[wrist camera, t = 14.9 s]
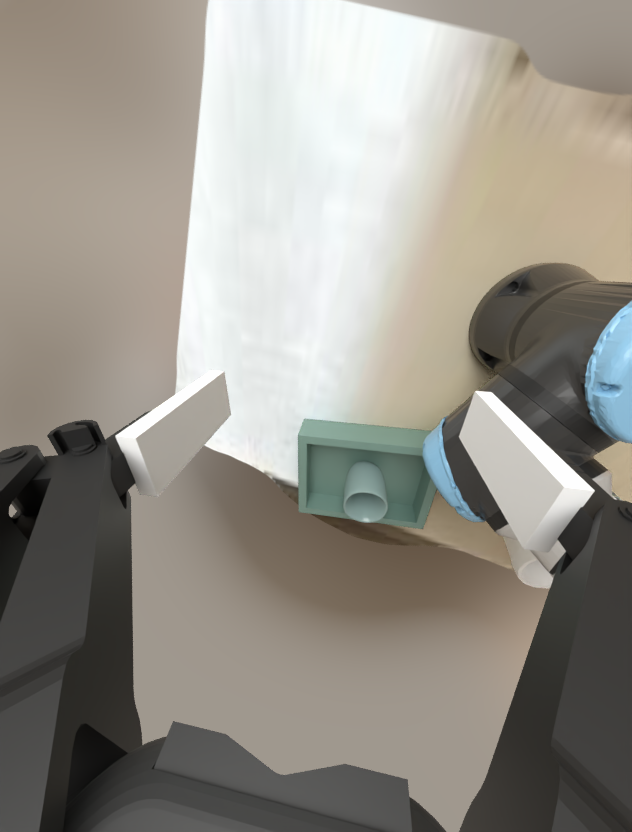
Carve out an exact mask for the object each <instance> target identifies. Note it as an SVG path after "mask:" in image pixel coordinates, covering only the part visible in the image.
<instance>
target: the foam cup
mask: <svg viewBox="0 0 632 832" xmlns="http://www.w3.org/2000/svg"><path fill="white" fill-rule="evenodd" d="M503 539H504V541H505V544H506V547H507V550H508V553H509V556H510V558H511V565H512V567H513V569H514V571H515V573H516V574H517V576H518V578H519V579H520V580H521V581H522V582H523V583H524V584H527V585H529V586H532V587H536V588H547V589H548V588H550V587H551V584H552V581H553V577H552V576H551V575H550V574H549V572H548V571H547V570H546V569H545V568H544V567H543V565H542V564H541V563H540V562H539V561H538V559H537V558H536V557H535V556H534V555H533V554H532V552H531V551H530V550H528V549H523V548H522V546H521V544H520V542H519V541H518V540H514V539H511V538H507V537H504V536H503Z"/></svg>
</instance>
